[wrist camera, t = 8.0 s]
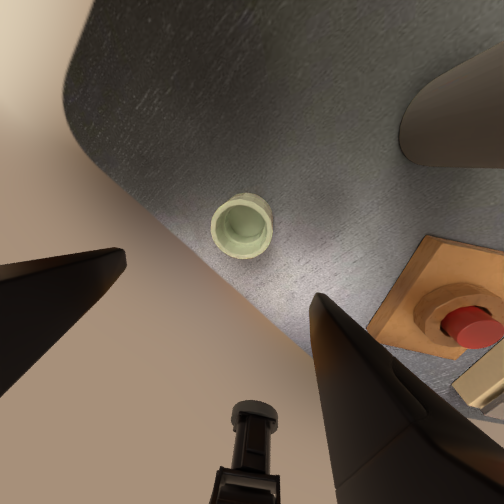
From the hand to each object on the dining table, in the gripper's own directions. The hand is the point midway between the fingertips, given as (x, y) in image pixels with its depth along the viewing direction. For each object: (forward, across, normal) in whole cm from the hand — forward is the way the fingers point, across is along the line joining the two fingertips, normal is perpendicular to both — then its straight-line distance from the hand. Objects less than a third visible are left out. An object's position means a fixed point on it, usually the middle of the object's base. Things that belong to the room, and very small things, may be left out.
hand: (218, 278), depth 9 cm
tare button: (+7, -21, +4) cm, 22 cm away
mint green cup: (+10, 0, 0) cm, 11 cm away
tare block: (+10, -21, +4) cm, 23 cm away
